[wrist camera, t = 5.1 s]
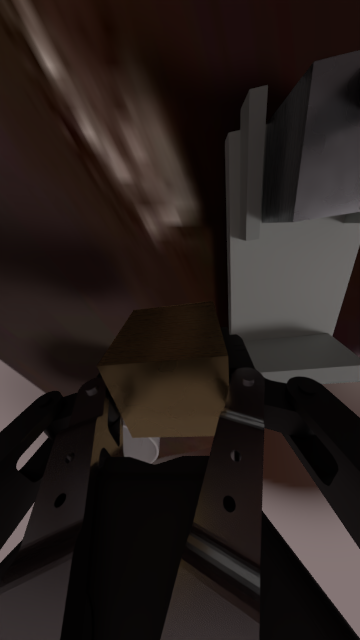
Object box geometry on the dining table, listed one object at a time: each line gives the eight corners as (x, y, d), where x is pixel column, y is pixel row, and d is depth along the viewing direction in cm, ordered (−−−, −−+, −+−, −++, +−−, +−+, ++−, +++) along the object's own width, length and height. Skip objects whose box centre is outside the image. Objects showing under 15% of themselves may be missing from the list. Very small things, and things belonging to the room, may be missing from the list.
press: (224, 123, 13) (251, 46, 8) (387, 87, 12) (567, -37, 6) (229, 348, 23) (242, 389, 17) (320, 340, 22) (367, 381, 16)
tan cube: (213, 301, 11) (228, 355, 6) (217, 363, 13) (230, 435, 9) (133, 310, 11) (96, 366, 7) (151, 368, 14) (132, 437, 9)
